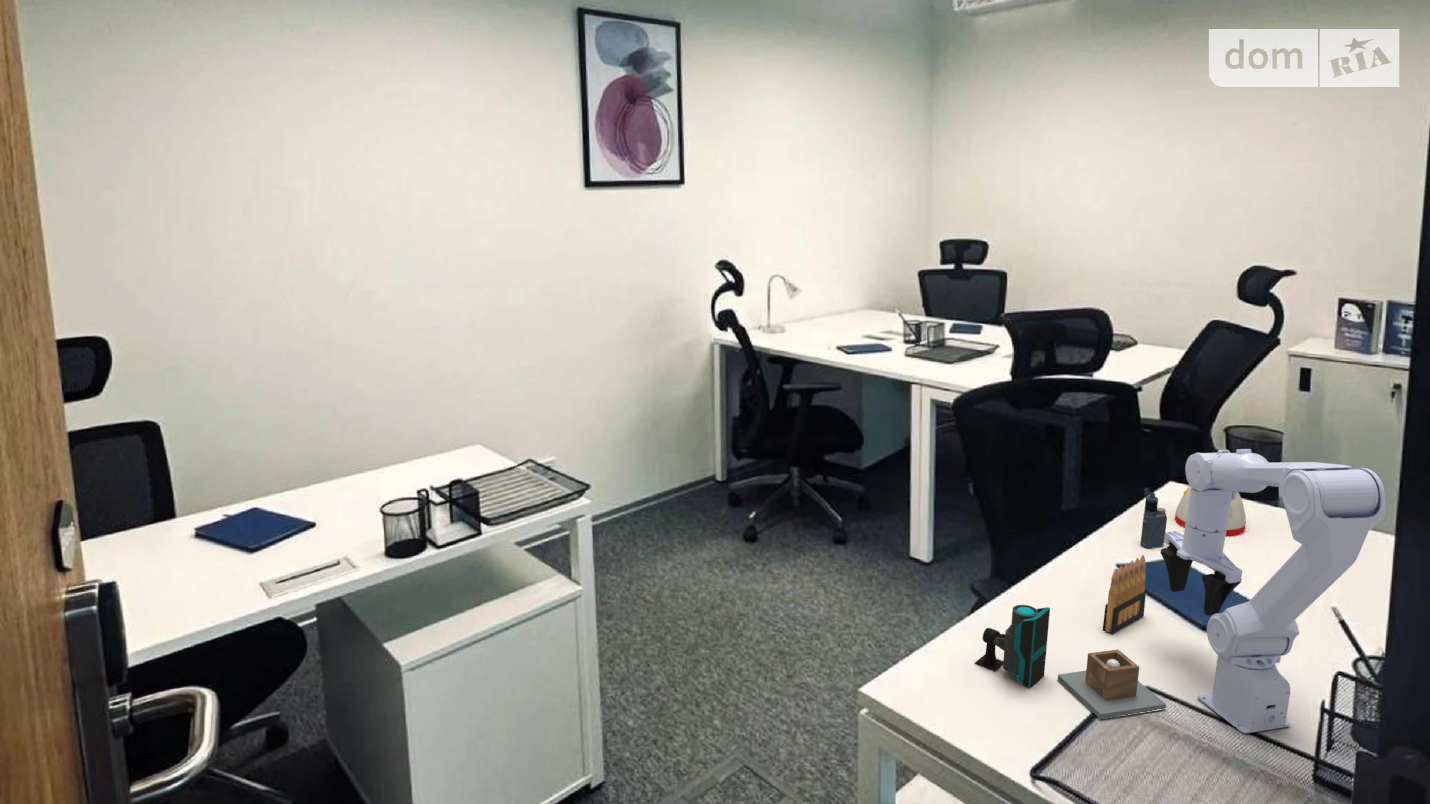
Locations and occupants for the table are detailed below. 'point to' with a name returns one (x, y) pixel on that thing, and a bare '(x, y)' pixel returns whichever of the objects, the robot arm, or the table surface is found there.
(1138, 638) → the table surface
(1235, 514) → the kitchen timer
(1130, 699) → the gray peg stand
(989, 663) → the surveillance camera
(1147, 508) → the vaping device
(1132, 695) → the walnut frame
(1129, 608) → the ammunition clip
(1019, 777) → the table surface
